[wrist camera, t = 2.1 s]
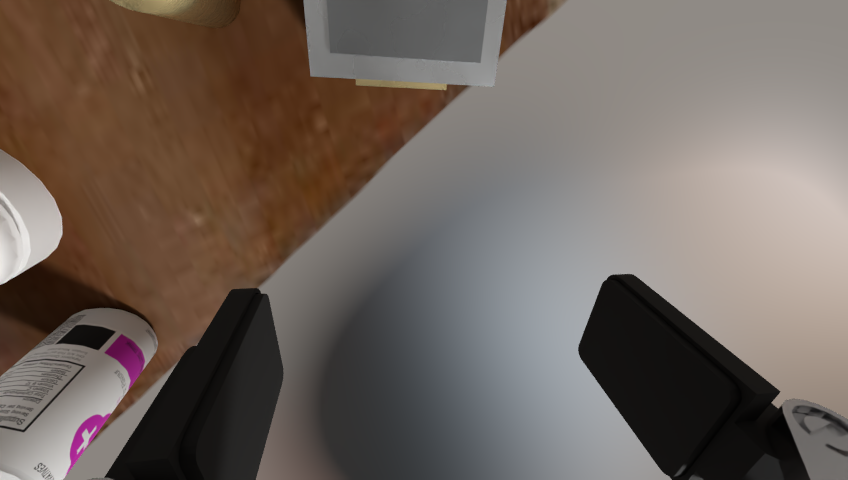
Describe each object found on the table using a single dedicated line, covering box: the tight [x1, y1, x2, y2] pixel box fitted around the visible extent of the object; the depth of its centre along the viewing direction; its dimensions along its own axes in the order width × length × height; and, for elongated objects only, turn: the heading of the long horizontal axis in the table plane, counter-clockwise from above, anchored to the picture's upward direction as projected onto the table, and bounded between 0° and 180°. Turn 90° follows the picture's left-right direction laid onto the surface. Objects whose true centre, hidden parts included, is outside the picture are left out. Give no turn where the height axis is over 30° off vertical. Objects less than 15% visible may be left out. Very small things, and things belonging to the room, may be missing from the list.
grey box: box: [303, 0, 507, 90], centre depth 20 cm, size 7×9×13 cm
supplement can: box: [0, 308, 158, 480], centre depth 29 cm, size 8×8×15 cm
